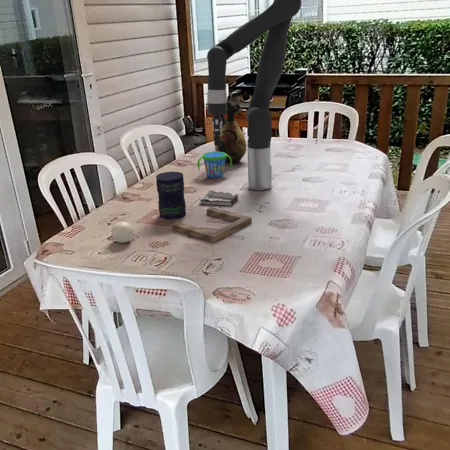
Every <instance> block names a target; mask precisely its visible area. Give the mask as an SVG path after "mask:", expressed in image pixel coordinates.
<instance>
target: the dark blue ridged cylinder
mask: <svg viewBox="0 0 450 450" xmlns="http://www.w3.org/2000/svg"><path fill="white" fill-rule="evenodd" d="M155 179H156V183H155V184H156V191H157V195H158V211H159V212H158V213H159V217H160V219H163V220H167V221H175V220H178V219H182V218H184V217H186V215H187V212H186V210H187V209H186V207H187V206H186V205H187V204H186V199H185V191H184V190H185V181H184V173H183V172H180V171H165V172H160V173H158V174H156V175H155Z"/></svg>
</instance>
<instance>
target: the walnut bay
mask: <svg viewBox="0 0 450 450" xmlns="http://www.w3.org/2000/svg"><path fill="white" fill-rule="evenodd" d="M206 215H209V216H212V217H217V218H219V219H223V220H227V221H230V220H232V221H231V223H229V224H227V225H225V226H223V227H221V228H218V229H217V230H215V231H213V232H212V231H209V230H205V229H203V228H200V227H195V226H192V225H189V224H186V223H183V222H179V221H177V222H174V223H173V224H171V226H172V230H173V231H176V232H179V233H181V234H185V235H188V236H192V237H195V238H198V239H201V240H204V241H207V240H208V241H207V242H210V241H211V243H213V242H214V243H216V242H218V241H220V240H222V239H223V237H224V238H226V237H228V236H230V235H231V234H233V233H235V232H237V231H239V230H241V229H242V227H243V228H245V227H246V225H247V226H249V225H251V224H252V223H253V222H252V220H253V219H252V217H251V216H248V215H245V214H240V213H236V212H232V211H228V210H224V209H221V208H217V207H214V206H210V207H208V208H207V209H206ZM234 221H235V222H234ZM251 222H252V223H251ZM248 224H249V225H248ZM244 226H245V227H244ZM240 228H241V229H240ZM238 229H239V230H238ZM236 230H237V231H236ZM234 231H235V232H234ZM232 232H233V233H232ZM230 233H231V234H230ZM229 234H230V235H229ZM227 235H228V236H227ZM225 236H226V237H225ZM221 238H222V239H221ZM219 239H220V240H219ZM217 240H218V241H217Z"/></svg>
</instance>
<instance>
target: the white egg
mask: <svg viewBox="0 0 450 450" xmlns="http://www.w3.org/2000/svg"><path fill="white" fill-rule="evenodd" d="M110 232H111V237H112V238H113V240H114V242H117V243H119V244H125V243H128V242H130V241H131V239H133V237H134V234H135V233H134V232H135V231H134V228H133V226H132V224H130V223H129V222H125V221H119V222H116V223H114V224H113V225H112V227H111V230H110Z"/></svg>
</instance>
